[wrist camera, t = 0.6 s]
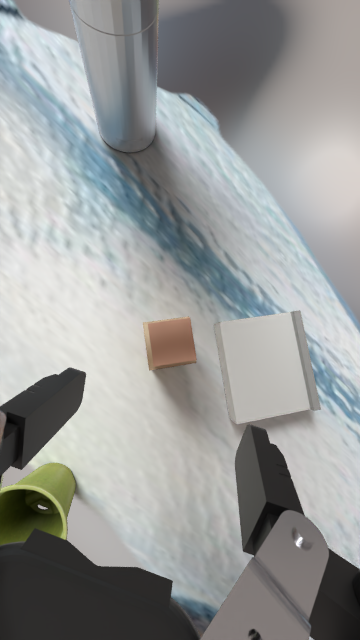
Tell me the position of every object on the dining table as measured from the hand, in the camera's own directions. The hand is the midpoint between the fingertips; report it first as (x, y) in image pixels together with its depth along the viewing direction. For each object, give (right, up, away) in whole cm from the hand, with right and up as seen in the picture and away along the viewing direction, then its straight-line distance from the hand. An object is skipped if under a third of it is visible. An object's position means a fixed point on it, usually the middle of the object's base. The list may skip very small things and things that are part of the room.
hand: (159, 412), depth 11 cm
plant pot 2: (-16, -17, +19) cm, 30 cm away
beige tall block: (-1, +1, +23) cm, 23 cm away
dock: (+13, -2, +25) cm, 28 cm away
